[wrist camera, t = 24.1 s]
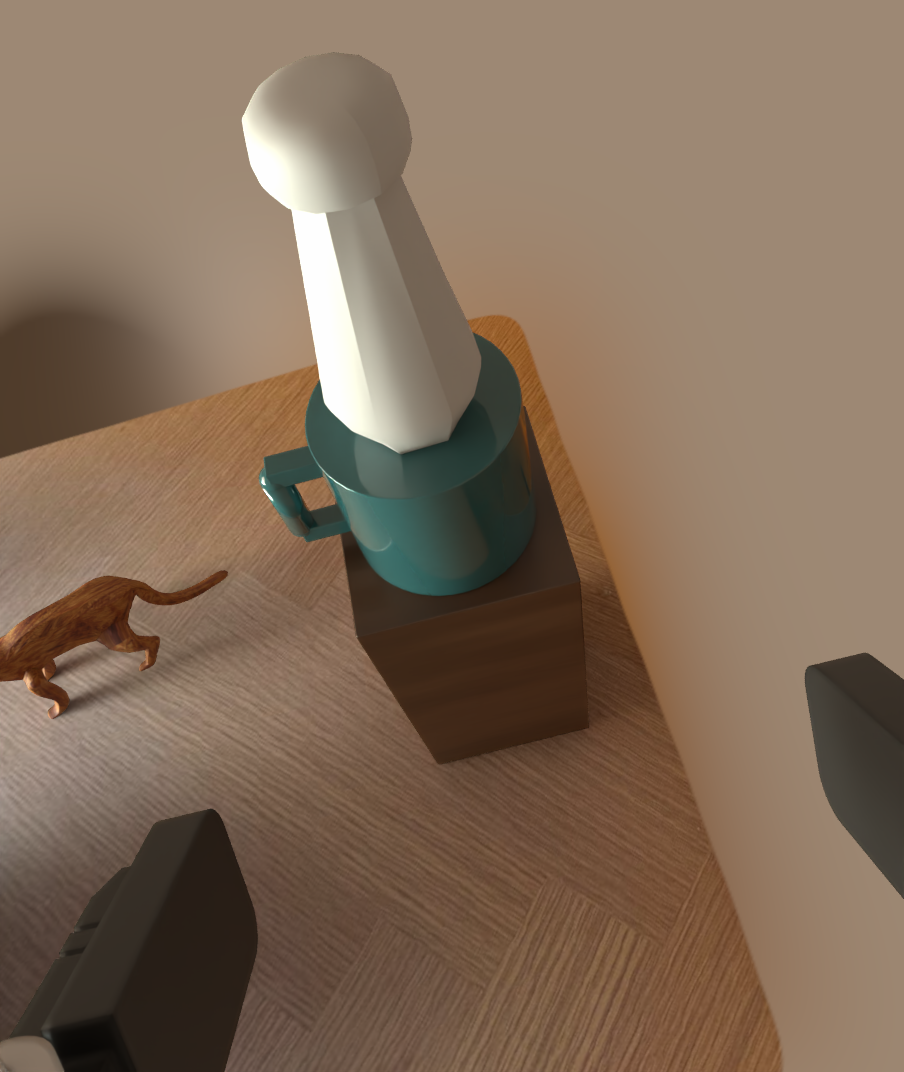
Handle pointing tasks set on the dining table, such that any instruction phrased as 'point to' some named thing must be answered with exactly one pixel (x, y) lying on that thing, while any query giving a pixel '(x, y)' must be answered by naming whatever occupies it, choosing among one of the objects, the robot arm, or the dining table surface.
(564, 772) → the dining table surface
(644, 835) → the dining table surface
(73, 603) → the cat figurine
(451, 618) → the stand
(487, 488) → the white-topped teal cylinder
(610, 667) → the dining table surface
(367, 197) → the salt shaker
